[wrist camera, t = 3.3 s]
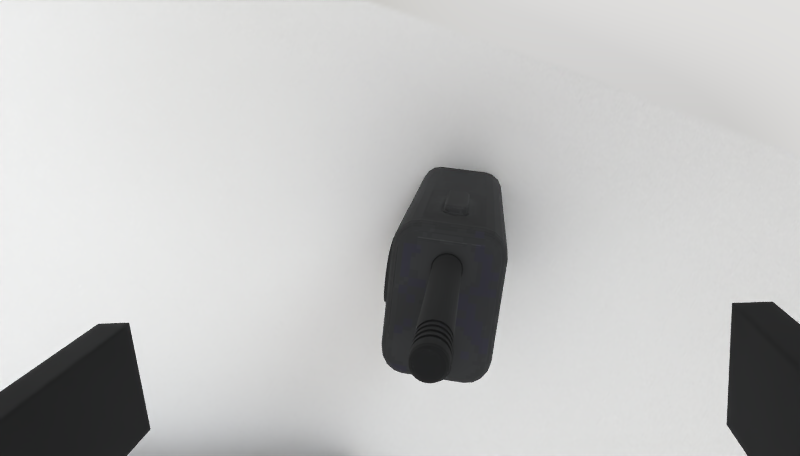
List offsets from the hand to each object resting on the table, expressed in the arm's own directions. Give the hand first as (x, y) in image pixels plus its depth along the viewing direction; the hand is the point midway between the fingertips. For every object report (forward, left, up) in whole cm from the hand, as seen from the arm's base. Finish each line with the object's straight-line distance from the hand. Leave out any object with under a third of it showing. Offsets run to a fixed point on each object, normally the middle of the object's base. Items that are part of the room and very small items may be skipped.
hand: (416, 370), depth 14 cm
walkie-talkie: (0, 0, -13) cm, 13 cm away
